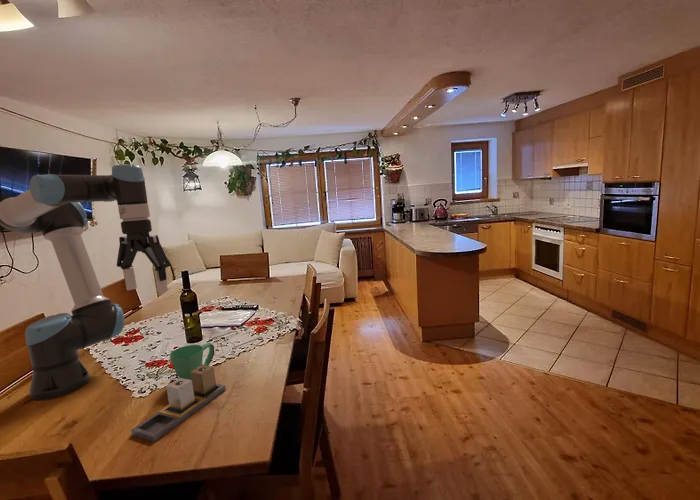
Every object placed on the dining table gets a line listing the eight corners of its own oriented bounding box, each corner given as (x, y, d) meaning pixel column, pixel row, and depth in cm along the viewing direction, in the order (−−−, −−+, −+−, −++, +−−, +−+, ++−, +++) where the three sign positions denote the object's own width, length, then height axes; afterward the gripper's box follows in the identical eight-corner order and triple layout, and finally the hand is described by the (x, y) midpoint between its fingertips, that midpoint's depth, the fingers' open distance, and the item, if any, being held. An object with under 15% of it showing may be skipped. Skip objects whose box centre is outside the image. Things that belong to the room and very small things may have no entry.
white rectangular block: (170, 413, 96) (166, 385, 95) (184, 404, 100) (180, 377, 99) (182, 416, 95) (178, 388, 93) (195, 406, 99) (191, 379, 97)
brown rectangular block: (193, 397, 104) (190, 371, 102) (205, 389, 108) (202, 364, 106) (205, 400, 102) (201, 373, 100) (217, 391, 106) (213, 366, 105)
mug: (186, 391, 108) (181, 360, 107) (167, 384, 113) (162, 354, 112) (225, 369, 120) (221, 341, 119) (206, 364, 125) (202, 337, 124)
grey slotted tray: (132, 436, 88) (131, 429, 88) (206, 386, 110) (205, 381, 110) (154, 443, 85) (153, 436, 85) (225, 390, 107) (225, 385, 106)
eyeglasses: (207, 348, 140) (205, 336, 139) (237, 335, 152) (236, 324, 152) (233, 356, 131) (231, 343, 131) (263, 341, 144) (262, 329, 143)
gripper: (95, 222, 104) (107, 291, 108) (153, 219, 94) (165, 296, 97) (120, 219, 111) (131, 285, 114) (177, 216, 101) (187, 288, 104)
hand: (146, 290), depth 106 cm, fingers open, 13 cm apart
